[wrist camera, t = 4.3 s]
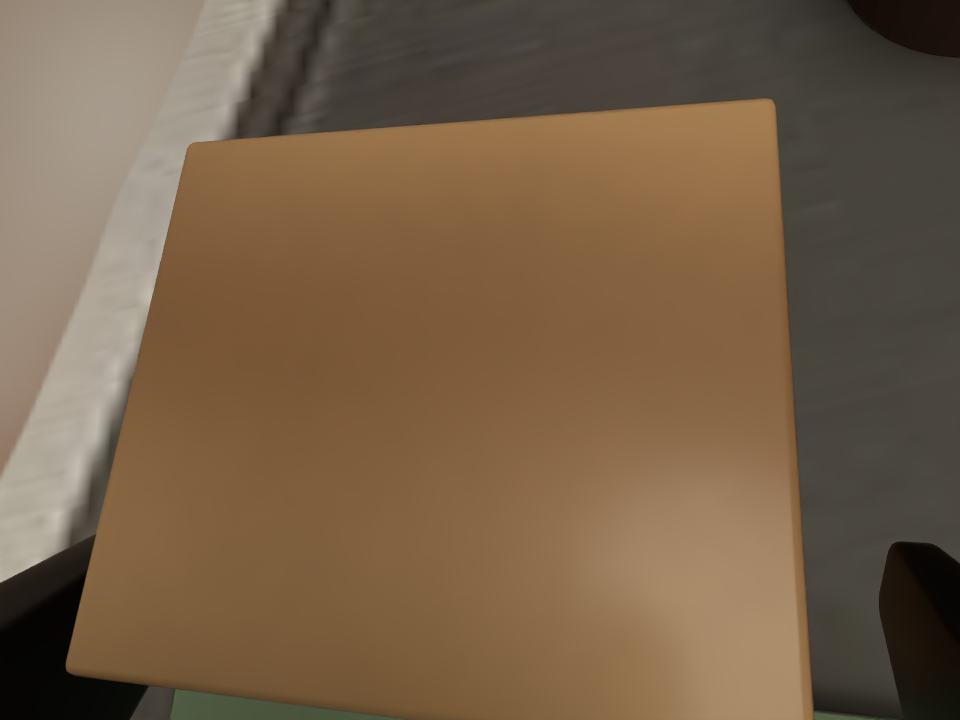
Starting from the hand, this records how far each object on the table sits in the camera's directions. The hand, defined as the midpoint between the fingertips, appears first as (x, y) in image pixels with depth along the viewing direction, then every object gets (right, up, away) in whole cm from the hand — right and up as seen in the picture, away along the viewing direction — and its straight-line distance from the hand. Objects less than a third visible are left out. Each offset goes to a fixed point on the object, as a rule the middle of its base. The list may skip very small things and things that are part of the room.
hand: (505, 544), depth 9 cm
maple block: (+2, -2, +8) cm, 9 cm away
